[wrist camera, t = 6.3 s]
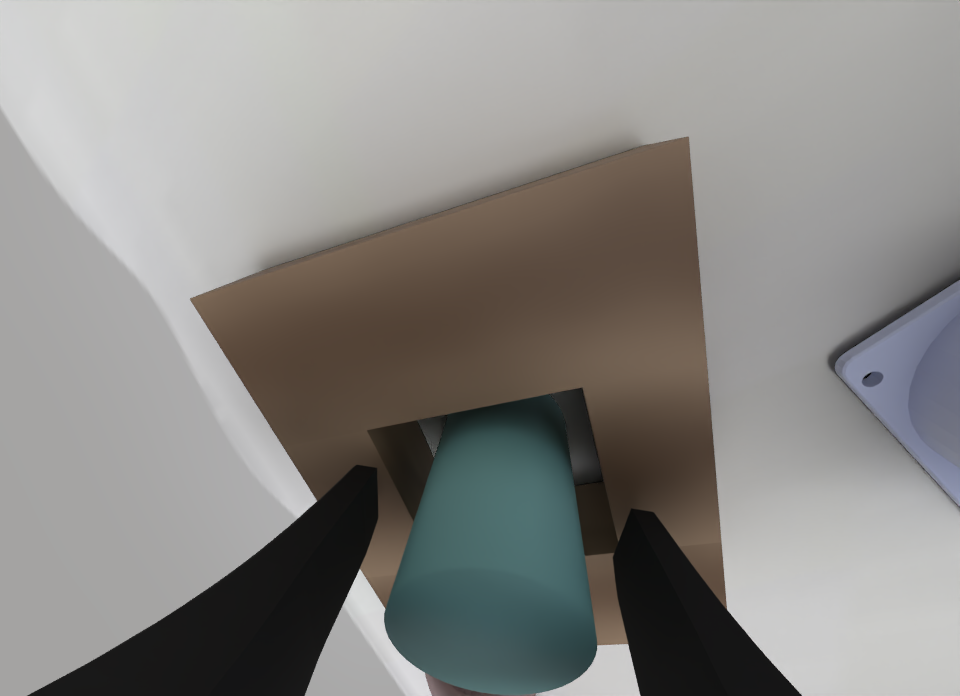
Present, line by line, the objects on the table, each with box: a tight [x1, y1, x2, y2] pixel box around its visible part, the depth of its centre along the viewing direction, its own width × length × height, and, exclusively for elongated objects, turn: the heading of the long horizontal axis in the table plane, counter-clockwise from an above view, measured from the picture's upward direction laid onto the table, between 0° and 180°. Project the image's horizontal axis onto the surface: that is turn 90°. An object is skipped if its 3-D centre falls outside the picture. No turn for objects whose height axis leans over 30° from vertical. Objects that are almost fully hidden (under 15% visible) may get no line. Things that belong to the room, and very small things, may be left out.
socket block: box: [190, 137, 727, 645], centre depth 13 cm, size 16×12×3 cm
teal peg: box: [384, 394, 597, 695], centre depth 11 cm, size 4×4×7 cm
